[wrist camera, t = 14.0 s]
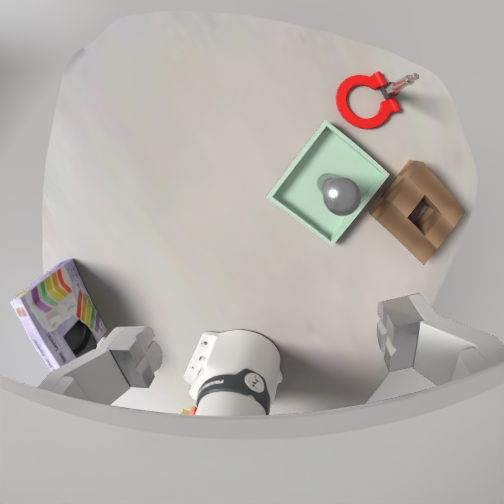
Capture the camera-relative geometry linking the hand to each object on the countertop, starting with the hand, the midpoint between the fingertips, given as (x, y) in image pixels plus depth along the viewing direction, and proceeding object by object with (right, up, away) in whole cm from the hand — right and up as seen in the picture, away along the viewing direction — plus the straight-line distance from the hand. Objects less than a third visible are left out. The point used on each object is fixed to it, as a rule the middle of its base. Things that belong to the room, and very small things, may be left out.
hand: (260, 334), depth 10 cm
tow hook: (+16, +25, +27) cm, 40 cm away
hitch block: (+25, +10, +31) cm, 41 cm away
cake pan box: (-37, -7, +45) cm, 59 cm away
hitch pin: (+11, +13, +31) cm, 35 cm away
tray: (+11, +13, +31) cm, 36 cm away
